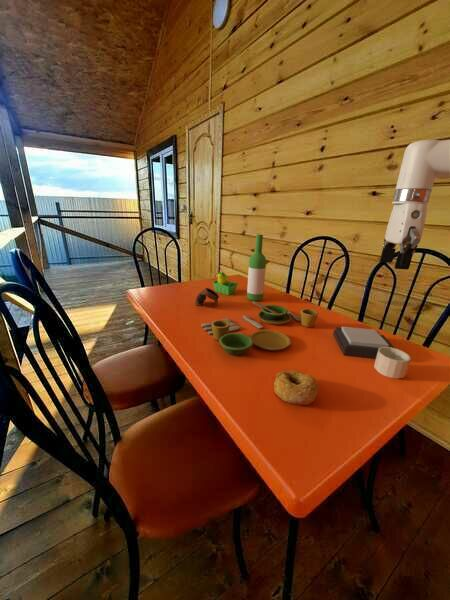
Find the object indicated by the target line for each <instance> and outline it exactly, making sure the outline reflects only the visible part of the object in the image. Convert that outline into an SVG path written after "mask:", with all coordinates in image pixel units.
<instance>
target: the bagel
mask: <svg viewBox="0 0 450 600" xmlns="http://www.w3.org/2000/svg"><path fill="white" fill-rule="evenodd" d="M275 376H276V377H275V379H274V381H273V392H274V393H275V395H276V396H277V397H278V398H280V399H281V400H282V401H283V402H285V403H289V404H293V405H300V406H307V405H310V404H312V403H313V402H314V401H316V398H317V396H318V394H319V392H320V391H319V390H320V388H319V382H318V381H317V378H315V377H314V376H312V375H311V374H306V373H303V372H301V371H299V370H280V371H278V372H277V374H275Z"/></svg>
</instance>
